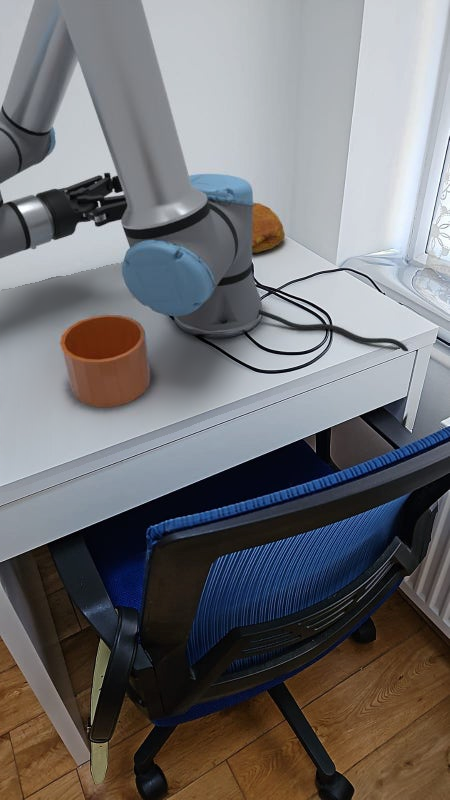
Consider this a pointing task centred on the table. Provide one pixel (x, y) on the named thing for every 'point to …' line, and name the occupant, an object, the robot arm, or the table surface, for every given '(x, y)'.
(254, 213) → the croissant
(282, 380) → the table surface
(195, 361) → the table surface
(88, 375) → the orange plant pot
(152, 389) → the table surface
